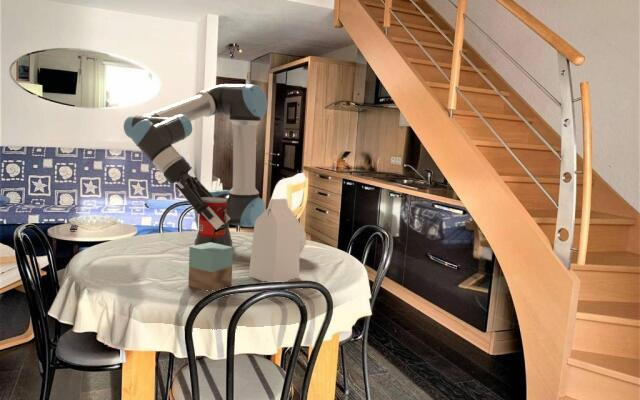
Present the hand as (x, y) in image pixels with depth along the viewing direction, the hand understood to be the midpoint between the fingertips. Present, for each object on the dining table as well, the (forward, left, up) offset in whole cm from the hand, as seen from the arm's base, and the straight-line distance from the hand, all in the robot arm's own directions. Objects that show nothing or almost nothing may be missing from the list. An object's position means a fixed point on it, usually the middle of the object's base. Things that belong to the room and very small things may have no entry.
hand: (223, 224), depth 143 cm
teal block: (+2, -3, -13) cm, 14 cm away
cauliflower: (-40, -8, -19) cm, 46 cm away
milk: (-19, +5, -19) cm, 28 cm away
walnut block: (+2, -3, -19) cm, 19 cm away
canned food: (+2, -3, -4) cm, 5 cm away
